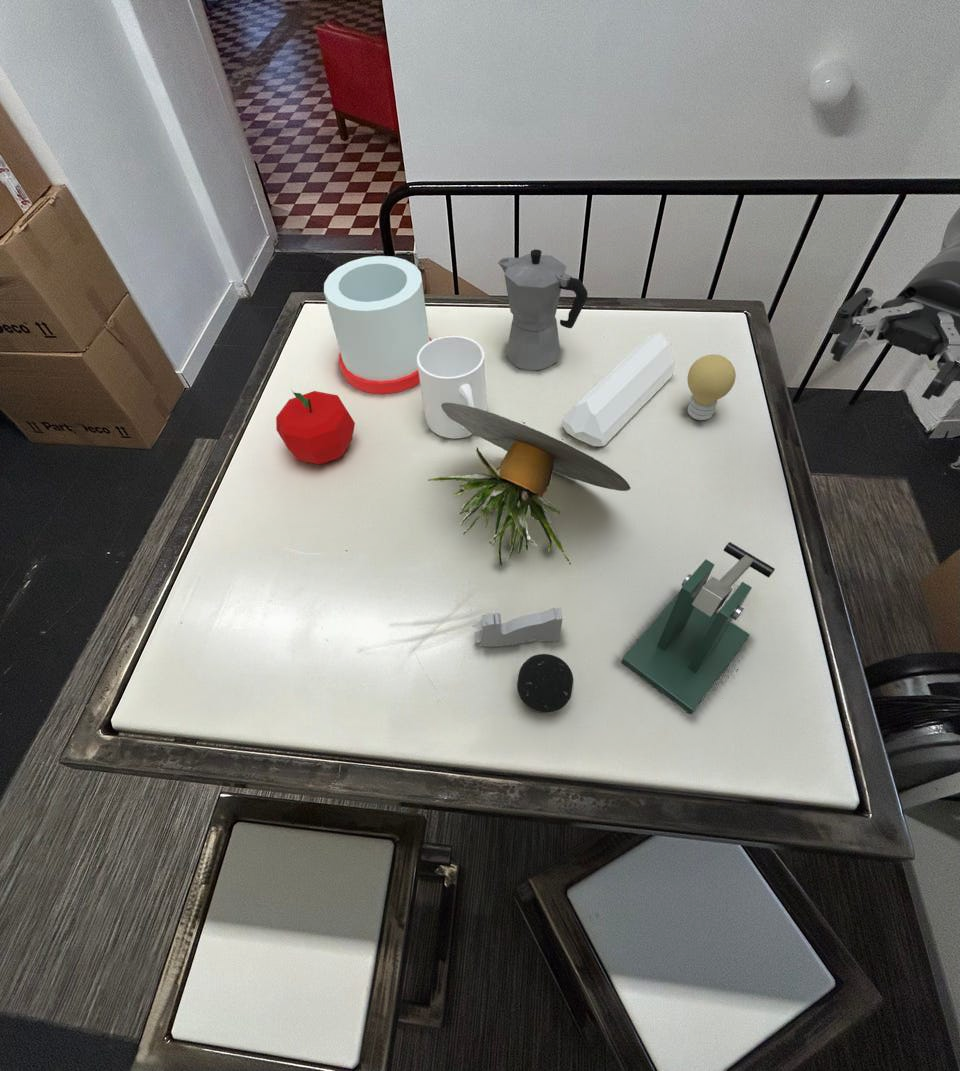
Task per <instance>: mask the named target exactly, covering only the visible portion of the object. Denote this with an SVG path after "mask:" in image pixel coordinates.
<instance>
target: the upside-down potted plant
mask: <svg viewBox="0 0 960 1071" xmlns="http://www.w3.org/2000/svg"><path fill="white" fill-rule="evenodd" d="M441 407H442V409H443V411H444V412H445V413H446V415H447V416H448V417H449V418H450V419H452V420H453V421H455V422H457V423H459V424H460V425H462V426H463V427H465V428H466V429H467V430H468V431H469V432H471V433H472V435H473V436H476V437H480V438H481V439H483V440H484V441H487V442H488V443H491V444H492V445H494V446H496V447H498V448H501V449H502V450H504V451H505V452H506V453H505V454H504V456H503V458H502V460H501V462H500V463H499V465H498V467H497V468H496V467H494V466H493V465H492V464H491V463H490V462H489V461H488V460H487V459H486V457H485V456H484V455H483V454H482V452H481V451H480V449H479V447H477V446H476V450H475V452H476V454H477V456H478V459H479V460H480V462H481V464H482V465H483V466H484V467H485V469H486V470H487V471H488V473H490V474H485V473H468V474H455V475H450V476H444V477H443V476H442V477H441V476H440V477H434V478H428V479H427V481H428V482H433V481H434V482H437V481H440V482H443V481H455V482H466V483H464V484H460V485H459V486H458V488H459V489H460V490H458V491H457V492H456V493H454V494H453V497H454V498H455V497H458V496H461V495H463V494H464V493H467V492H469V491H471V490H472V491H473V490H474V489H478V488H481V489H479V490H477V492H475V493H474V494H473V495H472V496H471V497H470V498H469V499H467V500H466V501H465V502H464V503H463V505H462V506H461V510H460V511H459V515H463V514H464V513H466V515H465V516H464V517H463V518H462V519H461V521H460V522H459V526H462V525H463V524H464V523H465V521H467V519H468V518H469V517H471V516H472V515H473V514H474V513H475V512H476V511H477V510H479V509H480V510H479V513H478V514H477V515H476V517H475V518H474V519H473V522H472V523H471V524H470V525H469V526H468V527H467V528H466V529H464V530H463V532H462V536H465V535H466V533H467V532H468V531H469V530H470V529H471V528H472V527H473V526H474V525H475V524H476V522H478V520H479V519H480V518H481V516H483V515H486V519H485V526H484V528H483V530H486V529H487V527H488V523H489V521H490V516H491V514H492V511H494V510H496V516H495V522H494V523H495V524H494V532H493V536H492V538H491V539H489V541H488V542H489V545H491V547H492V548H494V547H495V545H496V543H498V546H497V548H498V549H497V554H498V563H499V566H500V567H502V566H503V561H502V559H503V558H502V544H503V542H502V541H504V535H505V531H506V530H507V529H508V528H510V540H509V548H510V550H509V554H508V560H511V557H512V555H513V552H514V550H515V547H516V546H517V543H518V548H517V554H518V555H519V554H520V552H521V550H522V548H523V543H524V542H525V543H524V549H525V551H527V552H528V551H529V545H528V543H530V544H531V545H532V546H535V547H538V544H537V543H536V542H535V540H534V539H533V538H532V536H530V534H529V531H528V530H529V525H528V523H529V522H528V521H529V519H528V517H527V514H528V511H529V516H530V517H531V518H533V520H534V521H537V522H539V524H540V526H541V528H542V529H543V531H544V533H545V535H546V538H547V540H548V542H549V543H548V548H547V553H550V551H551V549H552V546H553V543H554V544H555V546H556V548H558V550H559V551H560V552H561V553H562V555H563V557H564V559H565V560H566V561H567V562H568V565H572V562H571V561H570V559H569V558H568V556H567V555H566V553H565V550H564V548H563V545H562V543H561V541H560V538H559V535H558V533H557V532H556V529H555V526H554V524H553V522H552V519H551V517H550V514H549V513H548V512H547V511H546V509H547V510H549V511H550V512H553V513H555V514H556V515H557V516H559V517H560V516H562V514H561V510H560V509H559V508H558V507H556V506H555V505H554V504H553V503H552V502H550V501H549V500H546V499H545V498H544V497H543V496H544V495H545V494H546V492H547V491H548V488H549V486H550V485H551V481H552V477H553V472H554V473H557V474H560V475H562V476H563V477H566V478H569V479H572V480H575V481H579V482H582V483H586V484H588V485H592V486H594V487H598V488H603V489H608V490H613V491H620V492H627V491H630V490H631V485H630V483H629V482H628V481H627V480H626V479H625V478H624V477H623V476H622V475H621V474H619V473H618V472H617V471H615V470H614V469H612V468H611V467H610V466H608V465H606V464H604V462H602V461H599V460H598V459H596V458H595V457H592V456H591V455H589V454H587V453H585V452H583V451H581V450H579V449H578V448H576V447H573V446H572V445H570V444H567V443H565V442H563V440H564V438H561V440H562V441H561V440H560V439H557V438H555V437H552V436H550V435H548V434H546V433H543V432H542V431H540V430H537V429H535V428H533V427H530V426H528V425H526V422H523V421H521V422H522V423H520V422H517V421H515V420H511V419H509V418H507V417H504V416H501V415H499V414H496V413H494V412H490V411H488V410H487V411H484V410H481V409H478V408H473V407H469V406H465V405H461V404H455V403H443V404H442V405H441ZM482 487H483V488H482ZM471 508H472V509H471ZM470 509H471V511H470ZM503 512H504V513H505V512H506V515H505V517H504V520H503V524H502V526H501V528H500V524H501V520H502V517H503ZM499 528H500V530H499ZM497 538H498V542H497V541H496V540H497ZM518 539H519V542H518Z"/></svg>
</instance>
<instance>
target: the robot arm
mask: <svg viewBox="0 0 960 1071" xmlns="http://www.w3.org/2000/svg"><path fill="white" fill-rule="evenodd" d="M873 294H874V290H873V289H872V288H870V287H862V288H860V289H859V290H858V291H857V292H855V294H854V295H852V296H851V297H850V298H849V299H848V300H846V301H845V302H844V303H842V305H841V306H840V307H838V309H837V311H836V313H835V315H834V317H833V319H832V321H831V323H830V326H828V327H829V328H828V329H827V331H828V332H829V333H830V334H831V335H838V336H836V338H835V341H834V342H833V344H832V346H831V348H830V352H829V353H830V354H832V355H833V356H832V360H833V361H835V362H838V363H840V362H841V361H842V360H843V359H844V358H845V357H846V355H848V354H849V352H850V351H851V350H852V349H853V348H854V347H855V345H856V344H863V343H866V345H867V346H875V345H882V344H888V345H891V346H893V347H897V348H901V349H904V350H907V351H908V352H910V353H912V354H915V355H917V356H922V357H923V360H924V361H925V364H926V365H927V367H928V369H929V370H932V371H935V373H936V375H935V376H934V377H933V379H932V380H931V382H930V383H929V384H928V386H927V387H926V389H925V390H924V392H923V394H922V395H921V396H920V397H921V398H923V399H926V400H930V399H931V398H932V396H934V397H936V398H940V397H943V396H944V394H945V393H946V391H947V390H948V389H949V387H950V386H951V385H952V383H954V382H960V206H959V207H958V208H957V210H956V211H955V212H954V214H953V215H952V216H951V218H950V220H949V222H948V223H947V225H946V228H945V231H944V234H943V238H942V242H941V246H940V251H939V253H938V254H937V255H936V256H935V257H933V259H931V260H930V261H928V262H927V263H926V264H925V265H924V266H923V267H922V268H921V269H920V270H919V271H918V272H917V273H916V275H914V277H913V278H911V280H910V281H909V282H908V283H907V284H906V285H905V287H904V288H903V289H902V290H901V291H900V292H899V293H898V294H897V295H896V297H894V298H893V299H889V300H886V301H885V302H884V301H881V300H878V299H875V298H873V297H872V296H873Z"/></svg>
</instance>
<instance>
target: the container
mask: <svg viewBox="0 0 960 1071" xmlns="http://www.w3.org/2000/svg"><path fill="white" fill-rule="evenodd" d="M323 294H324V298H325V301H326V305H327V309H328V312H329V316H330V318H331V319H330V320H331V323H332V324H331V325H332V327H333V331H334V334H335V338H336V342H337V345H338V349H339V353H338V363H339V367H340V371H341V374H342V375H343V377H344V379H345V381H346V382H347V383H348V384H349V385H351V386H352V387H353V388H354V389H356V390H360V391H362V392H365V393H368V394H377V395H378V394H379V395H387V394H394V393H395V394H396V393H400V392H404V391H406V390H409V389H412V388H415V387H416V386H418V385H420V379H419V372H418V365H417V355H418V353H419V350H420V349H421V348H422V347H423V346H424V345H425V344H427V343H428V342H430V341H432V340H433V339H432V338H431V337H430V332H429V325H428V317H427V309H426V302H425V293H424V287H423V279H422V272H421V271H420V269H419V268H418V267H417V265H415V264H414V263H412V262H410V261H408V260H407V259H404V258H400V257H396V256H391V255H390V256H388V255H375V256H366V257H361V258H358V259H354V260H350V261H348V262H346V263H344V264H343V265H340V266H338V267H336V268H335V269H334V270H333V271H332V272H331V273H330V274H328V276H327V278H326V280H325V281H324V282H323Z"/></svg>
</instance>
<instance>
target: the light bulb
mask: <svg viewBox="0 0 960 1071" xmlns="http://www.w3.org/2000/svg"><path fill="white" fill-rule="evenodd" d="M686 378H687V386H688V390H689V391H690V393H691V395H690V400H689V402H688V406H687V413H688V415H689V416H690V417H691V418H692V419H694V420H697V421H706V420H709V419H710V418H712V416H714V412H715V410H716V406H717V403H718V400H720V399H722V398H724V397H725V396H726V395H727V394H728V393H730V392H731V390H732V388H733V386H734V384H735V382H736V369H735V367H734V365H733V363H732V362H731V361H730V360H729V359H728V358H727V357H725V356H723V355H721V354H715V353H714V354H707V355H703V356H701V357H699V358H698V359H696V360H695V361H694V362H692V364H691V366H690V368H689V369H688V373H687V376H686Z"/></svg>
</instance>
